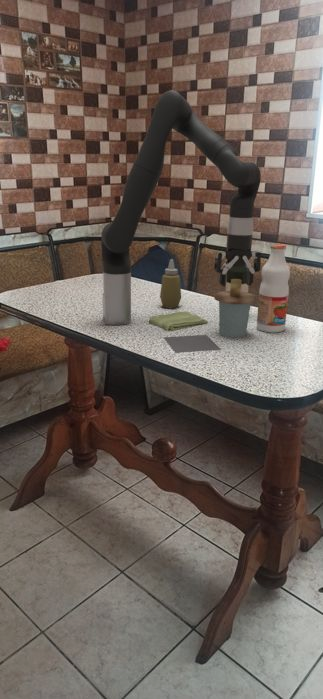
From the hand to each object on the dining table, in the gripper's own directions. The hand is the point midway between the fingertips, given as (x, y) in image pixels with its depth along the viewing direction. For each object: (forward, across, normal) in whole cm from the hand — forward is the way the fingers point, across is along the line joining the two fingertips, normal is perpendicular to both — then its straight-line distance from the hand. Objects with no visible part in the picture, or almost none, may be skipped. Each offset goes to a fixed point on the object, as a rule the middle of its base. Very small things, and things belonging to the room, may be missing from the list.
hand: (236, 285), depth 163 cm
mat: (+16, -16, -7) cm, 24 cm away
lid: (+4, 0, 0) cm, 4 cm away
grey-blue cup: (+16, 0, 0) cm, 17 cm away
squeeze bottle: (+16, -11, +37) cm, 42 cm away
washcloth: (+17, -14, +15) cm, 27 cm away
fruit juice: (+16, +15, +4) cm, 23 cm away
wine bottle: (+16, +9, +21) cm, 28 cm away
